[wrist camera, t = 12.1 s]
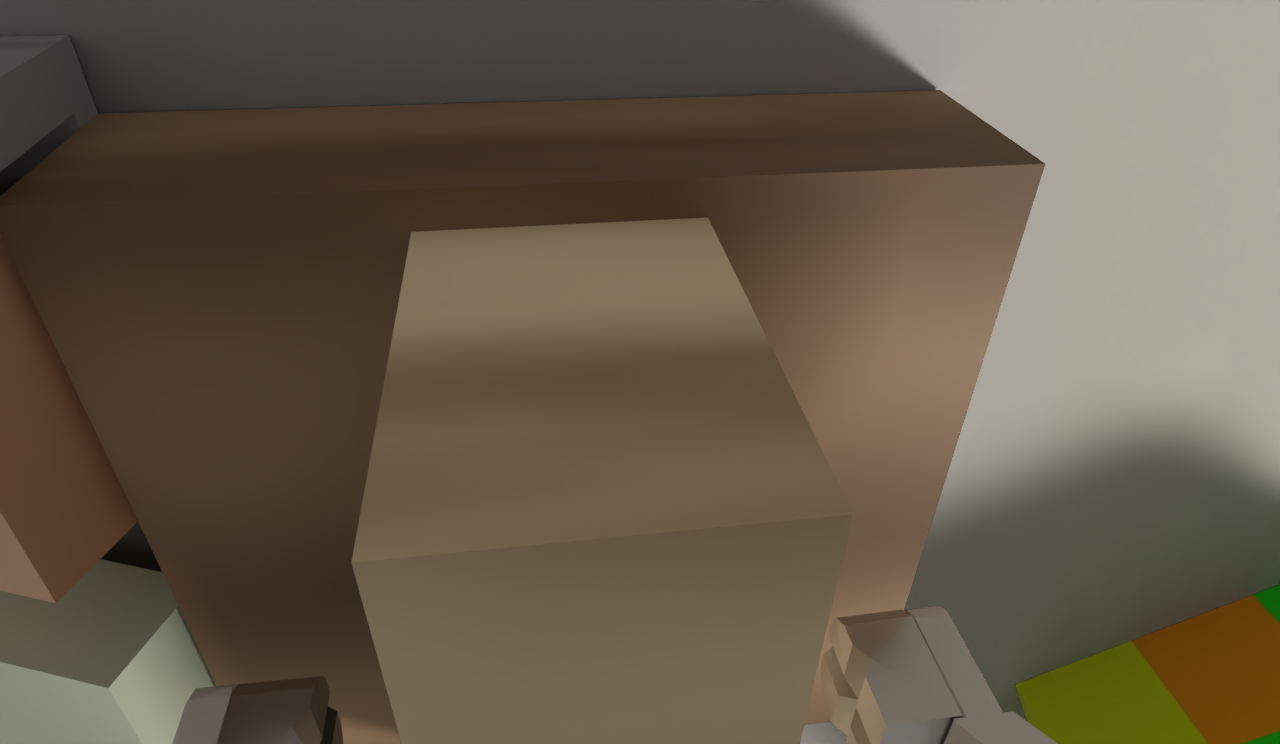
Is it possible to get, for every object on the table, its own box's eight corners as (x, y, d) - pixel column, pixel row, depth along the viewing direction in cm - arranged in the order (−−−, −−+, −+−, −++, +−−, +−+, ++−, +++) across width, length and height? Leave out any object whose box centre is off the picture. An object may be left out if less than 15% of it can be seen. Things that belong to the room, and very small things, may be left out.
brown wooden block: (97, 113, 11) (-14, 206, 9) (940, 90, 13) (1045, 164, 10) (297, 657, 18) (268, 793, 16) (823, 601, 20) (870, 716, 17)
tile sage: (-34, 530, 14) (-150, 626, 12) (199, 580, 13) (108, 687, 12) (69, 686, 17) (-17, 781, 15) (267, 735, 16) (201, 840, 14)
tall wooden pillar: (410, 231, 10) (351, 561, 6) (707, 217, 10) (851, 514, 6) (493, 750, 16) (493, 1078, 12) (672, 727, 16) (730, 1036, 12)
